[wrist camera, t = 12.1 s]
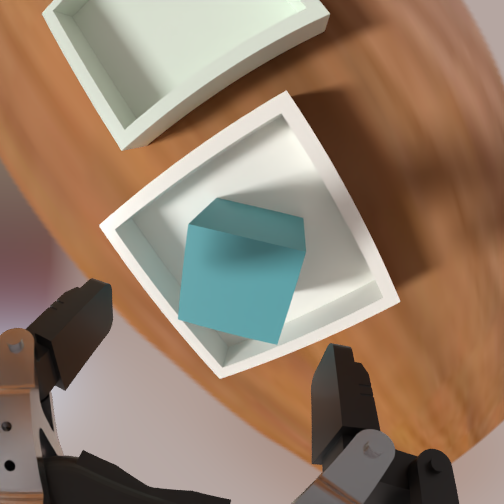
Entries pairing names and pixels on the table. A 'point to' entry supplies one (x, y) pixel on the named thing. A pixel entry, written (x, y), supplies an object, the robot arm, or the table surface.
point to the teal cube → (241, 269)
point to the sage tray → (171, 53)
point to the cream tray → (268, 197)
